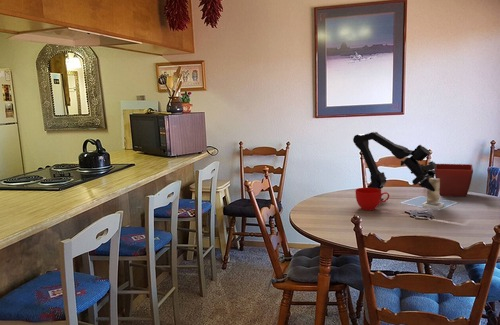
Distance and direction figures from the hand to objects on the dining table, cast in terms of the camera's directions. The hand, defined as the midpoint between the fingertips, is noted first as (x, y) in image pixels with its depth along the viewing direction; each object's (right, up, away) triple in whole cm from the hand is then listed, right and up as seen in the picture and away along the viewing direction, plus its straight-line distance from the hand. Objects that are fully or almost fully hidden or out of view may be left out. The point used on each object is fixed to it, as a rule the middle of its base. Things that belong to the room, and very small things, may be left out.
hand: (436, 190), depth 199 cm
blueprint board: (0, -8, +9) cm, 13 cm away
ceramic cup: (-31, -10, +6) cm, 33 cm away
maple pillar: (-1, -6, +2) cm, 7 cm away
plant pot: (+22, -5, +27) cm, 35 cm away
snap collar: (-1, -8, +2) cm, 9 cm away
